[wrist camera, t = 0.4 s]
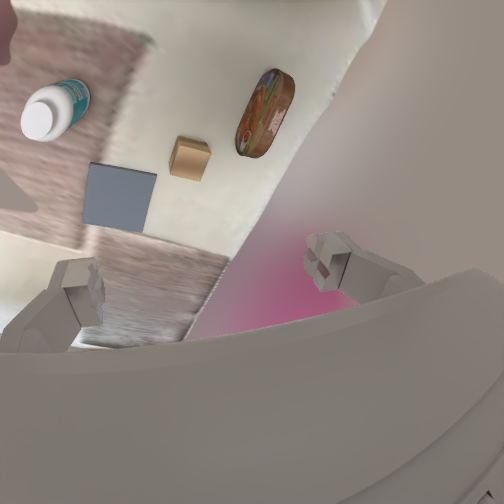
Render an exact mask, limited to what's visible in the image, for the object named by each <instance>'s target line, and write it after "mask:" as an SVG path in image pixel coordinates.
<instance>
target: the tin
mask: <svg viewBox="0 0 504 504" xmlns="http://www.w3.org/2000/svg"><path fill="white" fill-rule="evenodd" d="M294 93H295V83H294V80H293V78H292V77H291V76H290V75H288V74H286V73H284V72H282V71H280V70H279V69H272V70H270V71H268V72H267V73H266V74H265V75H264V76H263V77H262V78H261V79H260V81H259V83H258V84H257V86H256V88H255V90H254V93H253V95H252V97H251V99H250V102H249V104H248V106H247V108H246V111H245V113H244V115H243V117H242V120H241V122H240V124H239V127H238V130H237V134H236V150H237V152H238V154H239V155H241V156H247V157H250V158H259V157H261V156H263V155H264V154H265V153H266V152H267V151H268V149H269V148H270V146H271V144H272V142H273V140H274V138H275V136H276V134H277V132H278V130H279V128H280V125H281V123H282V121H283V119H284V117H285V115H286V113H287V111H288V109H289V106H290V104H291V102H292V100H293V97H294Z"/></svg>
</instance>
